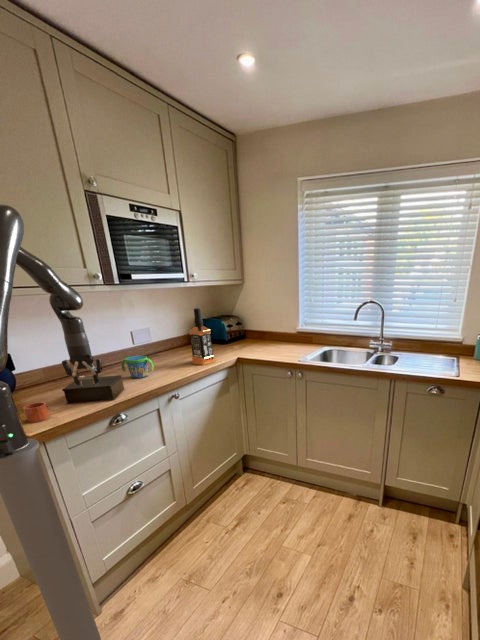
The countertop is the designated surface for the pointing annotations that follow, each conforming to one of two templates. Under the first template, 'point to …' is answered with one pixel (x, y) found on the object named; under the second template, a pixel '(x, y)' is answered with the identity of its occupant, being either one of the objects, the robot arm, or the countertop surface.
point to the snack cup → (137, 366)
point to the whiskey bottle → (201, 341)
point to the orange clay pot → (36, 412)
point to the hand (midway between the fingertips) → (87, 383)
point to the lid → (92, 383)
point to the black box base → (94, 394)
